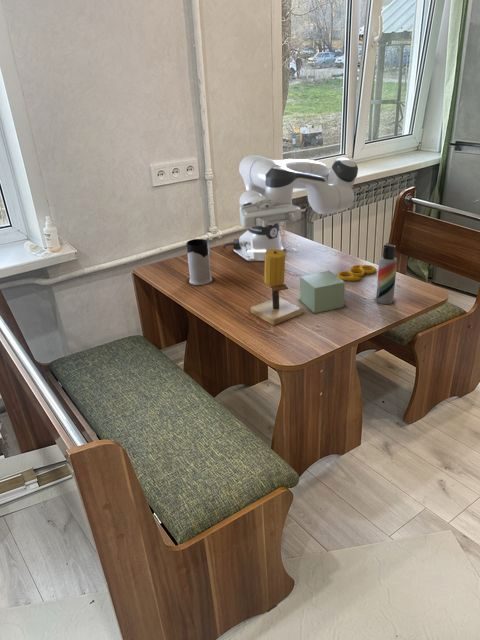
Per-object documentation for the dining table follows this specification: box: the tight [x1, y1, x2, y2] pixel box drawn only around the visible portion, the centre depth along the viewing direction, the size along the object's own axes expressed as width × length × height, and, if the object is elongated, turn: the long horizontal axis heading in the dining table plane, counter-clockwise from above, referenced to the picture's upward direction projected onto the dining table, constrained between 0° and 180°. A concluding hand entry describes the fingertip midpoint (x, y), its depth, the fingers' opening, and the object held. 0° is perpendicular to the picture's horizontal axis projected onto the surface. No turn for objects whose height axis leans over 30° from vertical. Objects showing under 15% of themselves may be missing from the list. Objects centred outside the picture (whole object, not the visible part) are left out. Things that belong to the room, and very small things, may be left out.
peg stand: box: [250, 289, 303, 326], centre depth 170 cm, size 12×12×20 cm
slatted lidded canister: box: [263, 249, 289, 292], centre depth 166 cm, size 9×6×11 cm
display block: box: [299, 270, 346, 314], centre depth 178 cm, size 11×11×9 cm
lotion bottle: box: [375, 242, 398, 305], centre depth 175 cm, size 6×6×20 cm
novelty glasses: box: [336, 264, 377, 282], centre depth 200 cm, size 17×2×10 cm
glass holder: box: [186, 238, 213, 286], centre depth 200 cm, size 9×14×15 cm, turn 159°
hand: (279, 222), depth 168 cm, fingers open, 8 cm apart
